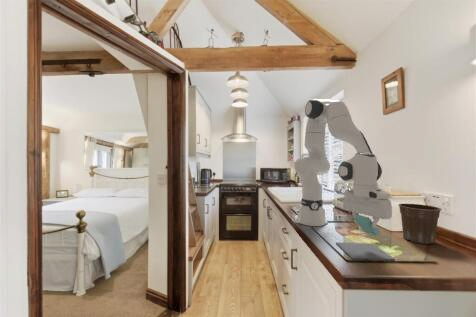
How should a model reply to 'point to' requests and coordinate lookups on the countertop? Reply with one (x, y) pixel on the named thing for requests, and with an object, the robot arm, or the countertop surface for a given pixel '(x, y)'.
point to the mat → (364, 251)
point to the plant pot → (419, 222)
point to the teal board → (366, 225)
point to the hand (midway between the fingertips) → (365, 225)
